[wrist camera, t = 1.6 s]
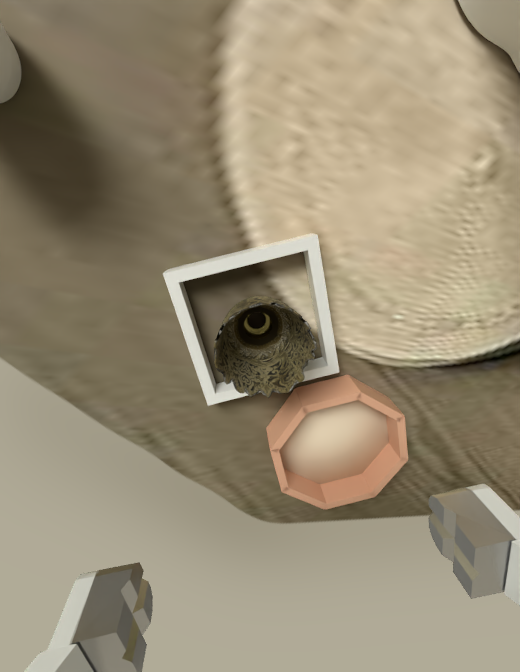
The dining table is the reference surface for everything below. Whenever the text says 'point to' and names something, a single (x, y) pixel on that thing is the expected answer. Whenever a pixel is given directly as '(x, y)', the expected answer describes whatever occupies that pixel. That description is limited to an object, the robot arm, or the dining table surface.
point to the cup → (8, 67)
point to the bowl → (337, 442)
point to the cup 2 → (263, 347)
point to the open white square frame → (239, 259)
